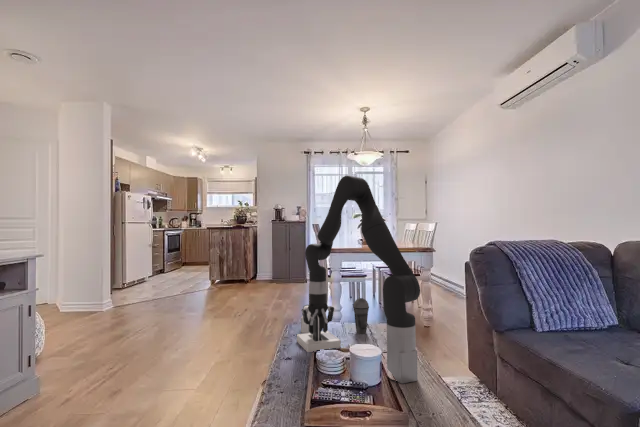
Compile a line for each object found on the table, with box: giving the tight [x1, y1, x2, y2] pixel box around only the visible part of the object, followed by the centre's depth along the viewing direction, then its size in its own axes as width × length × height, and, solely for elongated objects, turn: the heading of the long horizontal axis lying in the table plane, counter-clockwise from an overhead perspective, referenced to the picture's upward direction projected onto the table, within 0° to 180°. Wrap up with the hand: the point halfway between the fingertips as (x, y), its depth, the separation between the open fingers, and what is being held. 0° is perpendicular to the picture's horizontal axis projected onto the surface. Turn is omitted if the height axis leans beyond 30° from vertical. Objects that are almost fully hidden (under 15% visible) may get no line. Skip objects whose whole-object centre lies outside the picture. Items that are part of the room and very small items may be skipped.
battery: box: [313, 315, 325, 341], centre depth 154 cm, size 7×4×11 cm, turn 15°
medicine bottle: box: [300, 304, 311, 334], centre depth 172 cm, size 7×7×12 cm
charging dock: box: [296, 330, 341, 353], centre depth 154 cm, size 14×14×3 cm
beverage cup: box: [352, 288, 370, 335], centre depth 170 cm, size 7×7×20 cm
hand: (318, 332), depth 154 cm, fingers open, 5 cm apart
